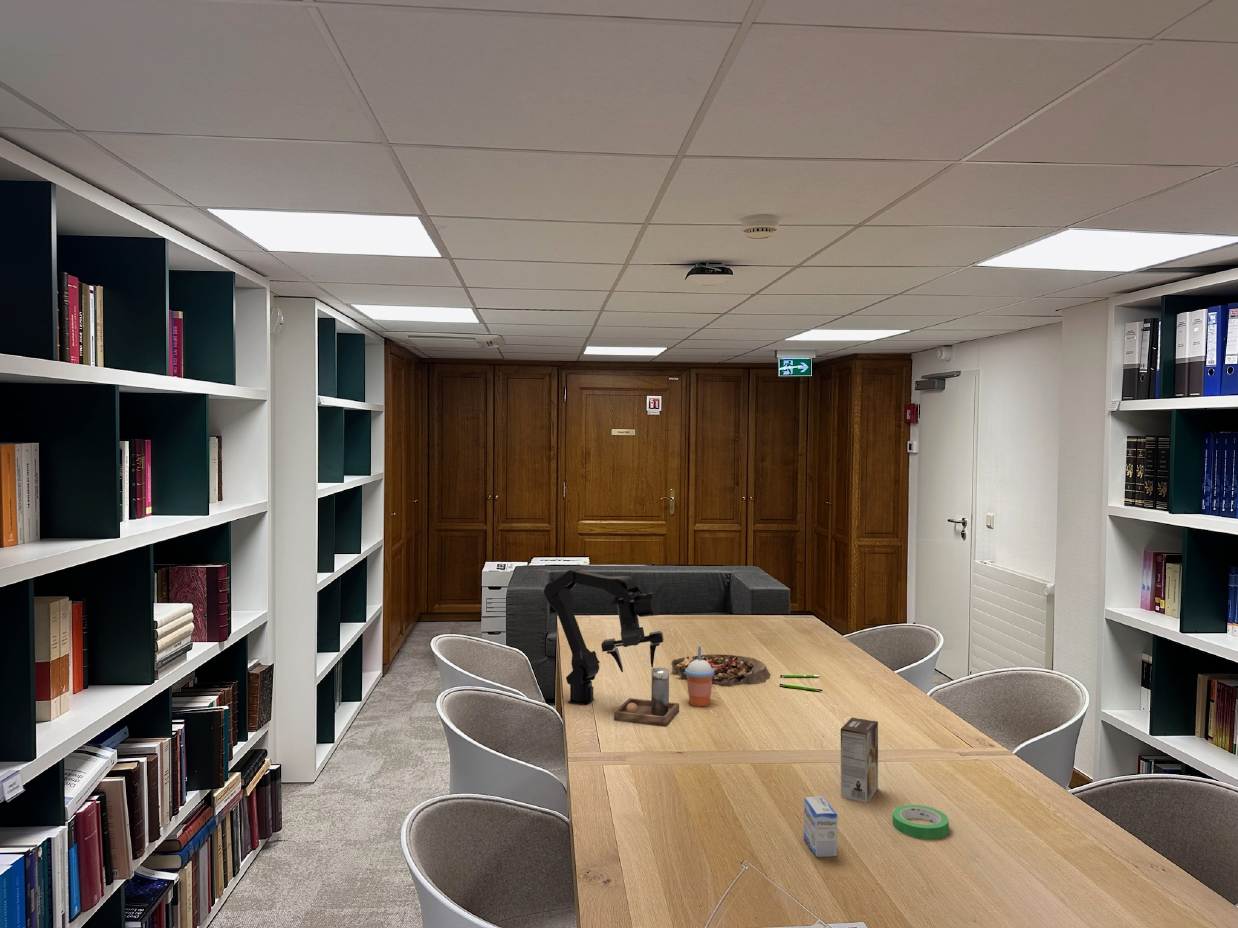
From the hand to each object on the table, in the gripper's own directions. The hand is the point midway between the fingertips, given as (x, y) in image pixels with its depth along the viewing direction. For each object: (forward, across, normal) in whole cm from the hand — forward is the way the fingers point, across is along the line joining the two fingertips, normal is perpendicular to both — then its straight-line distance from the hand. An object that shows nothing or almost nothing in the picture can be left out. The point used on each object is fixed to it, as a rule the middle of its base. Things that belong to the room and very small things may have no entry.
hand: (637, 669), depth 245 cm
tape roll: (+30, +60, -68) cm, 96 cm away
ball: (+10, -3, -4) cm, 11 cm away
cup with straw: (+15, +17, +11) cm, 25 cm away
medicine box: (+27, +37, -79) cm, 91 cm away
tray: (+14, +1, -2) cm, 14 cm away
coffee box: (+27, +51, -53) cm, 78 cm away
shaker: (+13, +5, -3) cm, 14 cm away
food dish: (+14, +25, +45) cm, 53 cm away
